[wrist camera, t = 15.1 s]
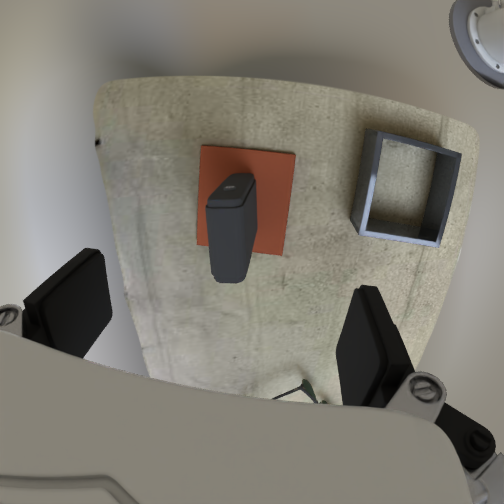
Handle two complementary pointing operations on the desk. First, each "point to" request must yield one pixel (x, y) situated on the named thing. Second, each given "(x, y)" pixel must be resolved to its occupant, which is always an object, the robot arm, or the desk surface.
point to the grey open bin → (436, 202)
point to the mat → (267, 187)
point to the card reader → (232, 227)
